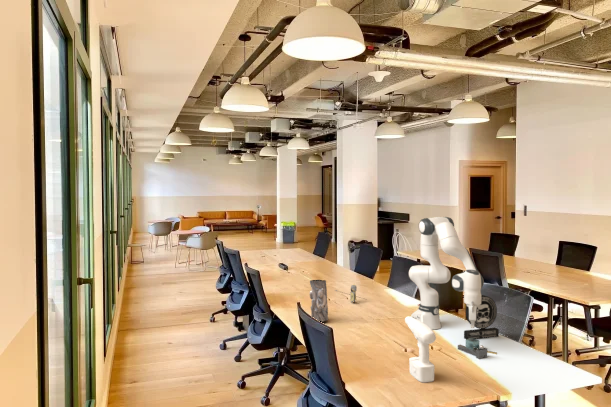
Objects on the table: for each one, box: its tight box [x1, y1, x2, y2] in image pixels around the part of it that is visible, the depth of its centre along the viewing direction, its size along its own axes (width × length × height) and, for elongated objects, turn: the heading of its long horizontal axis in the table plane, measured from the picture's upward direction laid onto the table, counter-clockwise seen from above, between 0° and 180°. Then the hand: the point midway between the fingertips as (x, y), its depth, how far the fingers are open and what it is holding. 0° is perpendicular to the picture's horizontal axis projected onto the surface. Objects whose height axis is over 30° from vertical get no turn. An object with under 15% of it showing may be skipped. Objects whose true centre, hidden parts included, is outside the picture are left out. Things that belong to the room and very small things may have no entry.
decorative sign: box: [463, 294, 500, 340], centre depth 265 cm, size 22×3×25 cm, turn 105°
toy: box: [334, 284, 367, 303], centre depth 353 cm, size 10×26×15 cm, turn 107°
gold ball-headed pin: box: [487, 349, 498, 355], centre depth 240 cm, size 7×2×1 cm, turn 54°
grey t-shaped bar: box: [457, 344, 488, 360], centre depth 239 cm, size 16×6×6 cm, turn 29°
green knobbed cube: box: [465, 338, 480, 350], centre depth 247 cm, size 5×5×5 cm
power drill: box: [404, 316, 437, 383], centre depth 212 cm, size 8×24×25 cm, turn 13°
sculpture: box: [309, 279, 329, 323], centre depth 301 cm, size 12×12×28 cm
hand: (472, 325), depth 247 cm, fingers open, 8 cm apart
